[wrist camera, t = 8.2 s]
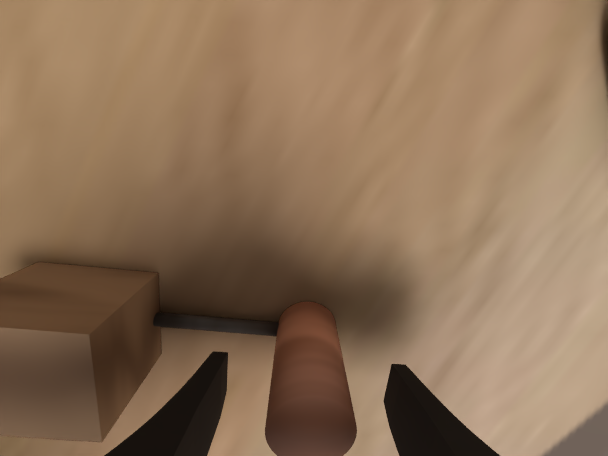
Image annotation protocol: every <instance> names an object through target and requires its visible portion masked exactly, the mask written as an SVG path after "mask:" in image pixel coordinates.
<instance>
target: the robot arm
mask: <svg viewBox="0 0 608 456" xmlns="http://www.w3.org/2000/svg"><path fill="white" fill-rule="evenodd" d="M227 364H228V352H212V353H211V354H210V355H209V357H208V358H207V359H206V361H205V362H204V363H203V364H202V365H201V367H200V368H199V369H198V370H197V371H196V373H195V374H194V375H193V376H192V377H191V378H190V379H189V380H188V382H187V383H186V384H185V385H184V386H183V387H182V388H181V389H180V390H179V391H178V392H177V393H176V394H175V395H174V396H173V397H172V398H171V399H170V400H169V401H168V402H167V403H166V404H165V405H164V406H163V407H162V408H161V409H160V410H159V411H158V412H157V413H156V414H155V415H154V416H153V417H152V418H151V419H149V420H148V421H147V422H146V423H145V424H144V425H143V426H141V427H140V428H139V429H138V430H137V431H135V432H134V433H133V434H132V435H130V436H129V437H128V438H127V439H126V440H124V441H123V442H122V443H121V444H119V445H118V446H117V447H115V448H114V449H113V450H111V451H110V452H109V453H107V454H106V455H105V456H207V454H208V451H209V448H210V446H211V443H212V440H213V437H214V434H215V431H216V428H217V425H218V422H219V419H220V416H221V412H222V408H223V404H224V400H225V396H226V391H227ZM384 405H385V409H386V414H387V418H388V422H389V426H390V430H391V433H392V435H393V438H394V441H395V444H396V447H397V450H398V453H399V456H500V455H499V454H497V453H496V452H495V451H494V450H492V449H491V448H490V447H489V446H488V445H486V444H485V443H484V442H483V441H482V440H481V439H479V438H478V437H477V436H476V435H475V434H474V433H472V432H471V431H470V430H469V429H468V428H467V427H466V426H465V425H464V424H463V423H462V422H461V421H459V420H458V419H457V418H456V417H455V416H454V415H453V414H452V413H451V412H450V411H449V410H448V409H447V408H446V407H445V406H444V405H443V404H442V403H441V402H440V401H439V400H438V399H437V398H436V397H435V396H434V395H433V394H432V393H431V392H430V390H429V389H428V388H427V387H426V386H425V385H424V384H423V383H422V382H421V381H420V380H419V379H418V378H417V377H416V375H415V374H414V373H413V372H412V371H411V370H410V369H409V368H408V367H407V366H406V365H401V364H392V365H391V370H390V374H389V379H388V383H387V388H386V392H385V397H384Z"/></svg>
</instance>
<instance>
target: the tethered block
mask: <svg viewBox="0 0 608 456" xmlns="http://www.w3.org/2000/svg"><path fill="white" fill-rule="evenodd" d="M161 327H170V328H182V329H194V330H206V331H218V332H230V333H243V334H255V335H267V336H277V338H276V346H275V354H274V362H273V370H272V378H271V386H270V394H269V403H268V411H267V419H266V427H265V436H266V440H267V443H268V445H269V447H270V448H271V450H272V451H273V452H274V453H275V454H276V455H277V456H343V455H344V454H345V453H347V452H348V450H349V449H350V448H351V447H352V445H353V443H354V441H355V438H356V433H357V427H356V422H355V417H354V412H353V407H352V402H351V397H350V392H349V387H348V382H347V377H346V372H345V367H344V362H343V357H342V352H341V347H340V343H339V338H338V333H337V328H336V323H335V319H334V317H333V315H332V313H331V312H330V311H329V310H328V309H327V308H326V307H324V306H323V305H321V304H318V303H315V302H300V303H296V304H294V305H292V306H290V307H288V308H287V309H286V310H285V311H284V312H283V313H282V315H281V317H280V319H279V322H266V321H254V320H242V319H230V318H219V317H207V316H195V315H183V314H171V313H160V300H159V273H155V272H144V271H133V270H122V269H111V268H100V267H89V266H78V265H66V264H55V263H44V262H37V263H35V264H33V265H31V266H28V267H26V268H24V269H21V270H19V271H17V272H15V273H12V274H10V275H8V276H5V277H3V278H1V279H0V436H10V437H26V438H41V439H57V440H72V441H88V442H103V440H104V439H105V437H106V436H107V434H108V433H109V431H110V430H111V428H112V427H113V425H114V424H115V422H116V421H117V419H118V418H119V416H120V415H121V413H122V412H123V410H124V409H125V407H126V406H127V404H128V403H129V401H130V400H131V398H132V397H133V395H134V394H135V392H136V391H137V389H138V388H139V386H140V385H141V383H142V382H143V380H144V379H145V377H146V376H147V374H148V373H149V371H150V370H151V368H152V367H153V365H154V364H155V362H156V361H157V360H158V358H159V357H160V355H161V354H162V353H161Z"/></svg>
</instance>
